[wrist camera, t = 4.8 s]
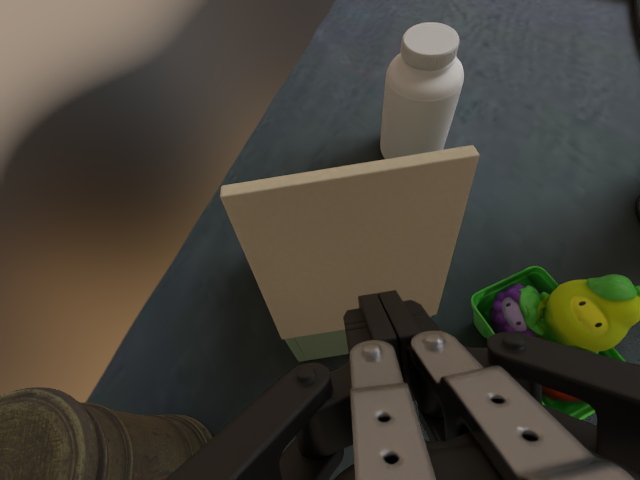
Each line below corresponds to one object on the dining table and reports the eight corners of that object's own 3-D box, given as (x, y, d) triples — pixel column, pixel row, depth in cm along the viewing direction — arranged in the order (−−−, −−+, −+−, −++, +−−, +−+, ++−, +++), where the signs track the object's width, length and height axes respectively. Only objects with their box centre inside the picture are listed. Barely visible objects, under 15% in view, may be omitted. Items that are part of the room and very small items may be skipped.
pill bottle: (399, 182, 45) (416, 73, 32) (369, 140, 49) (373, 28, 36) (455, 159, 46) (493, 44, 33) (421, 120, 50) (443, 4, 37)
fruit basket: (452, 315, 36) (488, 264, 26) (527, 279, 37) (587, 218, 28) (532, 435, 31) (614, 425, 21) (617, 387, 32) (732, 358, 22)
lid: (220, 185, 17) (219, 197, 16) (473, 144, 17) (480, 154, 16) (280, 330, 28) (281, 340, 27) (433, 305, 27) (436, 315, 27)
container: (106, 451, 33) (-119, 449, 17) (198, 395, 34) (70, 346, 19) (134, 566, 28) (-131, 699, 13) (237, 494, 30) (113, 536, 15)
